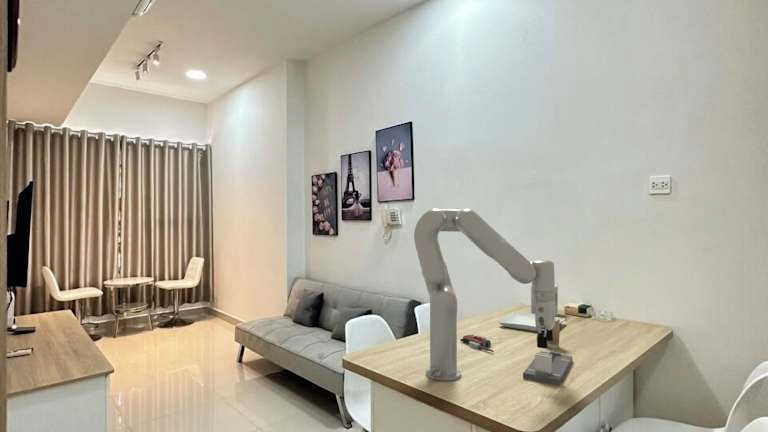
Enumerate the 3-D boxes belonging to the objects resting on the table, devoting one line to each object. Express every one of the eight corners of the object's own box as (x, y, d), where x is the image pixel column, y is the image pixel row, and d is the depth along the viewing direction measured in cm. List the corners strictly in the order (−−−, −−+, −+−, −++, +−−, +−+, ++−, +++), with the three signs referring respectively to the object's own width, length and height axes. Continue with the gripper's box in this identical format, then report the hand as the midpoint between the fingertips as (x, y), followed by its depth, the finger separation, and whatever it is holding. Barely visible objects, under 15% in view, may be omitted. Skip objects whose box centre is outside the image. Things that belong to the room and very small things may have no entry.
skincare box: (541, 346, 180) (541, 318, 180) (545, 343, 184) (545, 316, 184) (556, 349, 176) (556, 320, 176) (560, 346, 179) (559, 318, 179)
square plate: (515, 317, 234) (515, 311, 234) (566, 325, 218) (566, 317, 218) (498, 328, 212) (498, 320, 212) (553, 336, 196) (553, 328, 196)
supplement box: (555, 318, 231) (554, 287, 231) (530, 315, 238) (530, 285, 238) (558, 313, 242) (558, 284, 243) (535, 311, 249) (534, 282, 249)
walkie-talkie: (456, 343, 185) (491, 355, 169) (456, 333, 186) (491, 344, 169) (470, 340, 191) (505, 351, 174) (470, 330, 191) (505, 341, 174)
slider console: (559, 386, 137) (559, 377, 137) (523, 378, 143) (523, 369, 143) (572, 361, 160) (572, 353, 160) (540, 356, 167) (540, 348, 167)
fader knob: (550, 374, 141) (550, 356, 141) (535, 371, 144) (534, 354, 144) (551, 371, 143) (551, 354, 143) (537, 368, 146) (536, 351, 146)
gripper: (550, 300, 134) (551, 352, 134) (559, 292, 149) (561, 339, 149) (526, 298, 138) (528, 349, 138) (537, 290, 153) (539, 336, 153)
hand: (545, 344), depth 144 cm, fingers open, 9 cm apart
